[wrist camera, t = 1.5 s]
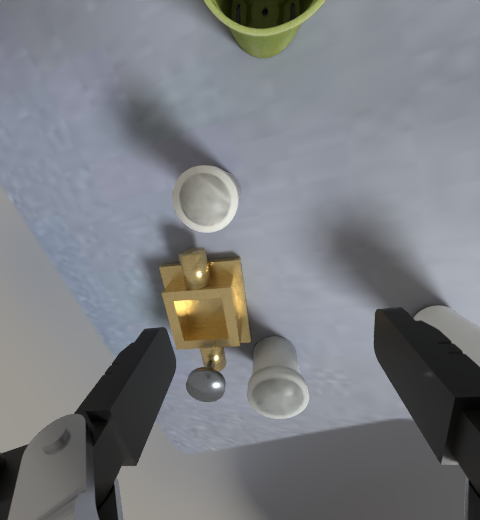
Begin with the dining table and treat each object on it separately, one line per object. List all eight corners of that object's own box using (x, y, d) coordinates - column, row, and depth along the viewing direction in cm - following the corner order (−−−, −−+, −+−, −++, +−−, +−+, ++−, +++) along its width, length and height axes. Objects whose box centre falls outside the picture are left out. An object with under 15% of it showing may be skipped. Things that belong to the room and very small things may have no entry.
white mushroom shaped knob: (196, 169, 26) (165, 170, 18) (241, 163, 25) (232, 160, 17) (204, 215, 28) (180, 235, 19) (247, 210, 27) (241, 229, 19)
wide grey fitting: (247, 334, 33) (243, 375, 27) (298, 331, 33) (308, 372, 26) (252, 373, 36) (250, 419, 29) (300, 371, 35) (309, 418, 28)
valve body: (158, 249, 30) (126, 274, 23) (238, 241, 29) (230, 265, 22) (185, 356, 36) (167, 402, 28) (253, 353, 34) (251, 401, 27)
